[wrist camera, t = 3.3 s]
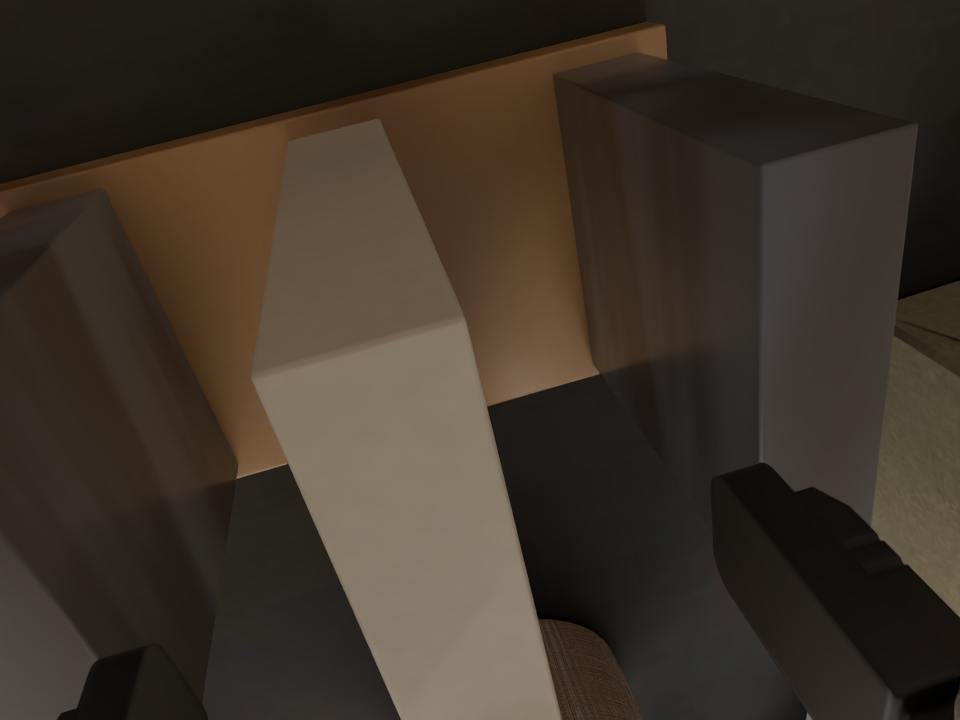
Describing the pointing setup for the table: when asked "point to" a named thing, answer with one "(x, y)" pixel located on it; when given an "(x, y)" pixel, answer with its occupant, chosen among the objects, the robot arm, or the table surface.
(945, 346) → the tissue box
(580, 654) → the planter
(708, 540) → the table surface
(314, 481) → the cream book
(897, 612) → the robot arm
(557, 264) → the grey book rack
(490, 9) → the table surface
